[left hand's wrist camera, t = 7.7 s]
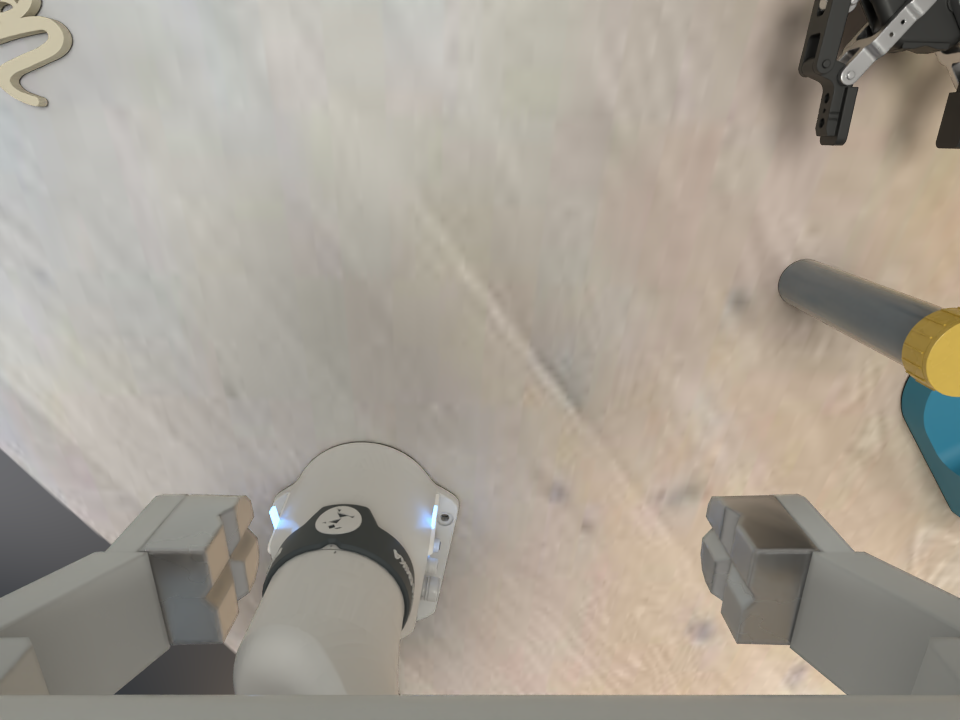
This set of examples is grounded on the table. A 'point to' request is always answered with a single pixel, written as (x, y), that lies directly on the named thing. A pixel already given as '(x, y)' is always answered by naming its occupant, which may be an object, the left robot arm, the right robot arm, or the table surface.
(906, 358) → the lid
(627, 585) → the table surface
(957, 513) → the camera mount
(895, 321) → the grey long cylinder
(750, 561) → the left robot arm
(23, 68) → the decorative sign
